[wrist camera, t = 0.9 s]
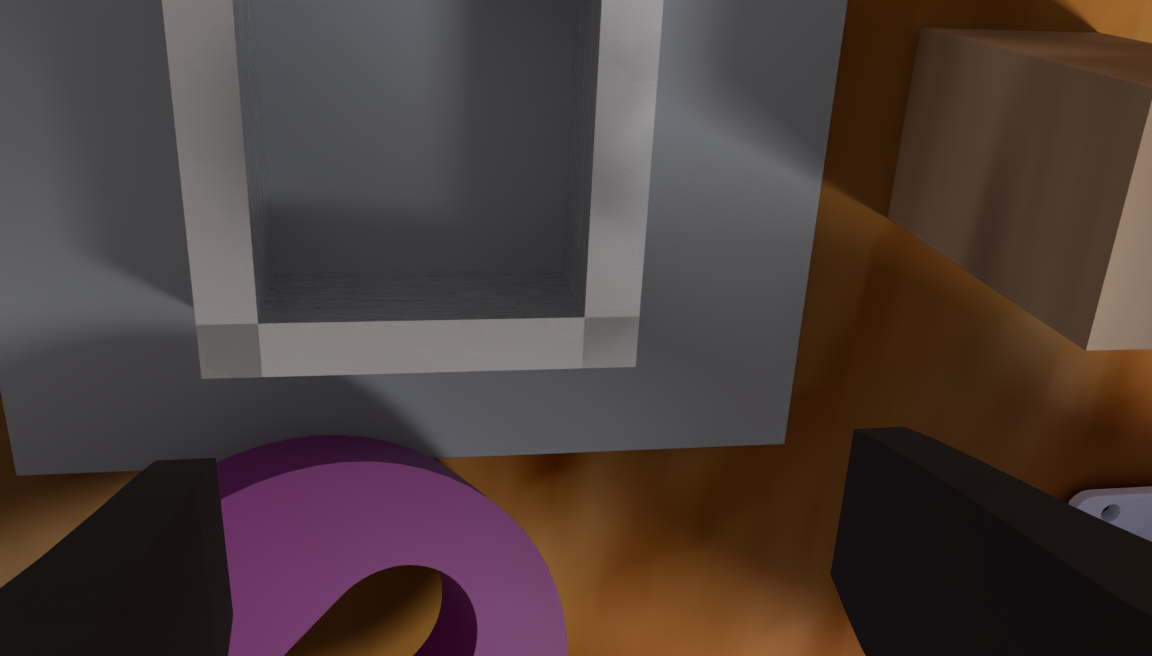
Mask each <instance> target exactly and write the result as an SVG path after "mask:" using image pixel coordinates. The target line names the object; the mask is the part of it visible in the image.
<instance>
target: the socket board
mask: <svg viewBox="0 0 1152 656" xmlns="http://www.w3.org/2000/svg"><path fill="white" fill-rule="evenodd" d="M847 2H848V0H0V392H1V397H2V402H3V408H4V413H5V418H6V423H7V429H8V434H9V439H10V444H11V450H12V455H13V460H14V465H15V471H16V476H23V475H47V474H71V473H95V472H119V471H143V470H144V469H145V468H147V467H148V466H149V465H151V464H152V463H153V462H154V461H156V460H175V459H198V458H216V463H217V462H219V461H221V460H224V459H226V458H228V457H230V456H233V455H235V454H237V453H240V452H243V451H246V450H249V449H252V448H255V447H258V446H261V445H264V444H269V443H273V442H278V441H282V440H287V439H292V438H300V437H308V436H317V435H347V436H358V437H368V438H373V439H377V440H382V441H387V442H392V443H395V444H398V445H401V446H404V447H407V448H410V449H413V450H415V451H417V452H419V453H422V454H424V455H426V456H428V457H430V458H432V459H433V458H457V457H481V456H505V455H529V454H553V453H577V452H601V451H625V450H649V449H674V448H698V447H722V446H746V445H770V444H784V442H785V435H786V428H787V421H788V414H789V407H790V400H791V393H792V386H793V379H794V372H795V365H796V358H797V351H798V344H799V338H800V331H801V324H802V317H803V310H804V303H805V296H806V289H807V282H808V275H809V268H810V261H811V254H812V247H813V240H814V233H815V226H816V219H817V212H818V205H819V198H820V191H821V184H822V177H823V170H824V163H825V156H826V149H827V142H828V135H829V128H830V121H831V114H832V107H833V100H834V93H835V86H836V79H837V72H838V65H839V58H840V51H841V44H842V37H843V30H844V23H845V16H846V9H847Z"/></svg>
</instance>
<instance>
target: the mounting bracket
mask: <svg viewBox="0 0 1152 656" xmlns="http://www.w3.org/2000/svg"><path fill="white" fill-rule="evenodd" d="M216 464H217V473H218V481H219V490H220V499H221V508H222V517H223V526H224V535H225V544H226V553H227V562H228V571H229V580H230V589H231V598H232V607H233V622H232V630H231V637H230V645H229V652H228V656H284V655H285V654H286V653H287V652H288V651H289V649H290V648H291V647H292V646H293V645H294V644H295V643H296V642H297V641H298V640H299V639H300V638H301V637H302V636H303V635H304V634H305V633H306V632H307V631H308V630H309V629H310V628H311V627H312V626H313V625H314V624H315V623H316V622H317V621H318V620H319V618H320V617H321V616H322V615H323V614H324V613H325V612H326V611H327V610H328V609H329V608H330V607H331V606H332V605H333V604H334V603H335V602H336V601H337V600H338V599H339V598H340V597H341V596H342V595H343V594H344V593H345V592H346V591H347V590H348V589H349V588H351V587H352V586H353V585H355V584H356V583H357V582H359V581H360V580H362V579H364V578H365V577H367V576H369V575H371V574H373V573H375V572H378V571H380V570H383V569H387V568H390V567H395V566H401V565H420V566H426V567H430V568H434V569H436V570H438V571H439V574H440V577H441V582H442V603H441V608H440V613H439V616H438V619H437V622H436V624H435V626H434V628H433V630H432V632H431V634H430V635H429V637H428V638H427V640H426V641H425V643H424V644H423V645H422V646H421V648H420V649H419V650H418V651H417V652H416V653H415V654H414V655H413V656H568V651H567V634H566V627H565V621H564V615H563V609H562V606H561V602H560V599H559V595H558V592H557V588H556V586H555V583H554V581H553V579H552V576H551V574H550V572H549V569H548V567H547V565H546V563H545V562H544V560H543V558H542V556H541V555H540V553H539V551H538V549H537V548H536V546H535V545H534V544H533V542H532V541H531V540H530V538H529V537H528V536H527V534H526V533H525V532H524V530H523V529H522V528H521V527H520V526H519V525H518V524H517V523H516V522H515V521H514V520H513V519H512V518H511V517H510V516H509V515H508V514H507V513H506V512H505V511H504V510H502V509H501V508H500V507H499V506H497V505H496V504H495V503H494V502H492V501H491V500H490V499H489V498H487V497H486V496H485V495H483V494H482V493H481V492H480V491H478V490H477V489H476V488H474V487H473V486H472V485H470V484H469V483H468V482H467V481H465V480H464V479H463V478H461V477H460V476H459V475H457V474H456V473H455V472H453V471H452V470H450V469H449V468H447V467H446V466H444V465H442V464H441V463H439V462H438V461H436V460H434V459H432V458H430V457H428V456H426V455H424V454H422V453H419V452H417V451H415V450H413V449H410V448H407V447H404V446H401V445H398V444H395V443H392V442H387V441H382V440H377V439H373V438H368V437H358V436H347V435H317V436H308V437H300V438H292V439H287V440H282V441H278V442H273V443H269V444H264V445H261V446H258V447H255V448H252V449H249V450H246V451H243V452H240V453H237V454H235V455H233V456H230V457H228V458H226V459H224V460H221V461H219V462H217V463H216Z"/></svg>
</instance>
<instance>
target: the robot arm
mask: <svg viewBox="0 0 1152 656" xmlns="http://www.w3.org/2000/svg"><path fill="white" fill-rule="evenodd" d="M1107 506H1109V507H1108V509H1107V510H1105V511H1104V512H1102V511H1103V509H1105V508H1106V507H1107ZM831 576H832V579H833V581H834V584H835V586H836V589H837V591H838V594H839V596H840V599H841V601H842V604H843V606H844V609H845V611H846V614H847V616H848V618H849V621H850V623H851V625H852V627H853V630H854V632H855V634H856V637H857V639H858V641H859V643H860V646H861V648H862V649H863V651H864V653H865V655H866V656H1152V486H1150V487H1131V488H1111V489H1092V490H1085V491H1081V492H1080V493H1078V494H1076V495H1074V497H1073V498H1072V499H1071V500H1070V501H1069V503H1068V504H1067V503H1065V502H1063V501H1061V500H1059V499H1057V498H1055V497H1053V496H1051V495H1049V494H1046V493H1044V492H1042V491H1040V490H1038V489H1036V488H1034V487H1032V486H1030V485H1028V484H1026V483H1024V482H1022V481H1020V480H1018V479H1016V478H1014V477H1012V476H1010V475H1008V474H1006V473H1004V472H1002V471H1000V470H998V469H996V468H994V467H992V466H990V465H988V464H986V463H984V462H982V461H980V460H978V459H976V458H974V457H971V456H969V455H967V454H965V453H963V452H961V451H959V450H957V449H955V448H953V447H950V446H948V445H946V444H944V443H942V442H940V441H937V440H935V439H933V438H931V437H928V436H926V435H923V434H921V433H918V432H915V431H913V430H910V429H907V428H904V427H894V428H872V429H854V433H853V439H852V446H851V452H850V458H849V464H848V470H847V476H846V483H845V489H844V495H843V501H842V507H841V514H840V520H839V526H838V532H837V538H836V544H835V551H834V557H833V563H832V569H831ZM232 622H233V607H232V598H231V589H230V580H229V571H228V562H227V553H226V544H225V535H224V526H223V517H222V508H221V499H220V490H219V481H218V473H217V464H216V458H198V459H175V460H156V461H154V462H153V463H152V464H151V465H149V466H148V467H147V468H145V469H144V470H143V471H142V472H140V473H139V474H138V475H137V476H136V477H135V478H133V479H132V480H131V481H130V482H129V483H128V484H126V485H125V486H124V487H123V488H122V489H121V490H120V491H118V492H117V493H116V494H115V495H114V496H113V497H112V498H110V499H109V500H108V501H107V502H106V503H105V504H104V505H102V506H101V507H100V508H99V509H98V510H97V511H95V512H94V513H93V514H92V515H91V516H90V517H88V518H87V519H86V520H85V521H84V522H82V523H81V524H80V525H79V526H78V527H77V528H75V529H74V530H73V531H72V532H71V533H69V534H68V535H67V536H66V537H65V538H63V539H62V540H61V541H60V542H59V543H57V544H56V545H55V546H54V547H53V548H52V549H50V550H49V551H48V552H47V553H46V554H44V555H43V556H42V557H41V558H39V559H38V560H37V561H36V562H34V563H33V564H32V565H30V566H29V567H28V568H26V569H25V570H24V571H22V572H21V573H20V574H19V575H17V576H16V577H15V578H13V579H12V580H11V581H9V582H8V583H7V584H5V585H4V586H3V587H1V588H0V656H228V652H229V645H230V637H231V630H232Z"/></svg>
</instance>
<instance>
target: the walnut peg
mask: <svg viewBox="0 0 1152 656" xmlns="http://www.w3.org/2000/svg"><path fill="white" fill-rule="evenodd" d="M888 219H889V220H891V221H892V222H894V223H895V224H897V225H898V226H900V227H901V228H903V229H904V230H906V231H907V232H909V233H910V234H912V235H913V236H915V237H916V238H918V239H919V240H921V241H922V242H924V243H925V244H927V245H928V246H930V247H931V248H933V249H934V250H936V251H937V252H939V253H940V254H942V255H943V256H945V257H946V258H948V259H949V260H951V261H952V262H954V263H955V264H957V265H958V266H960V267H961V268H963V269H964V270H966V271H967V272H969V273H970V274H972V275H973V276H975V277H976V278H978V279H979V280H981V281H982V282H984V283H985V284H987V285H988V286H990V287H991V288H993V289H994V290H996V291H997V292H999V293H1000V294H1002V295H1003V296H1005V297H1006V298H1008V299H1009V300H1011V301H1012V302H1014V303H1015V304H1017V305H1018V306H1020V307H1021V308H1023V309H1024V310H1026V311H1027V312H1029V313H1030V314H1032V315H1033V316H1035V317H1036V318H1038V319H1039V320H1041V321H1042V322H1044V323H1045V324H1047V325H1048V326H1050V327H1051V328H1053V329H1054V330H1056V331H1057V332H1059V333H1060V334H1062V335H1063V336H1065V337H1066V338H1068V339H1069V340H1071V341H1072V342H1074V343H1075V344H1077V345H1078V346H1080V347H1081V348H1083V349H1084V350H1086V351H1091V350H1129V349H1152V43H1147V42H1143V41H1138V40H1133V39H1128V38H1123V37H1118V36H1113V35H1108V34H1103V33H1095V32H1063V31H1031V30H999V29H966V28H934V27H920V31H919V37H918V43H917V49H916V55H915V61H914V66H913V72H912V78H911V84H910V90H909V96H908V102H907V107H906V113H905V119H904V125H903V131H902V137H901V142H900V148H899V154H898V160H897V166H896V172H895V178H894V183H893V189H892V195H891V201H890V207H889V213H888Z"/></svg>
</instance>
